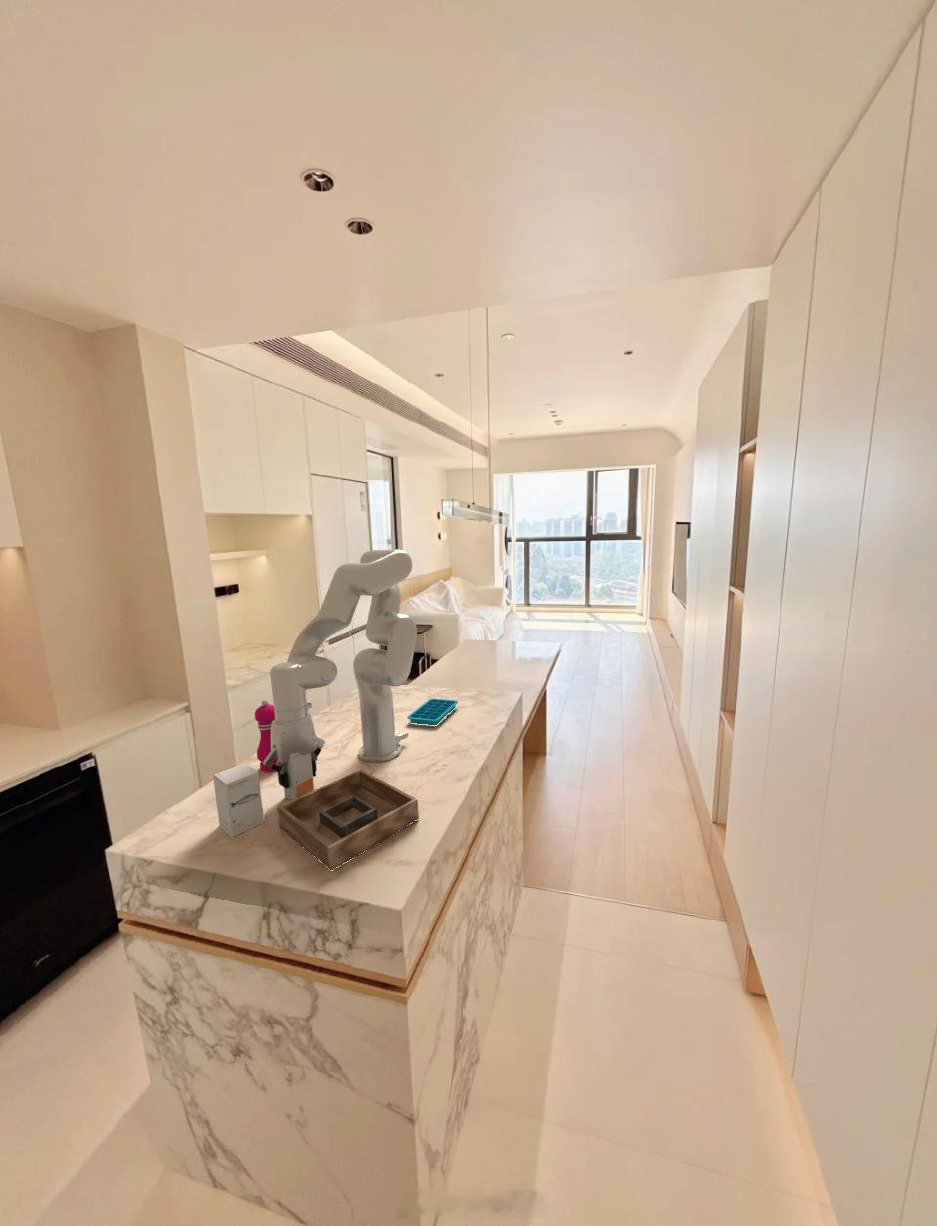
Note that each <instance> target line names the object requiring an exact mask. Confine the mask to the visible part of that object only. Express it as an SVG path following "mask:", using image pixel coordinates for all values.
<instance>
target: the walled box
mask: <svg viewBox="0 0 937 1226" xmlns="http://www.w3.org/2000/svg"><path fill="white" fill-rule="evenodd" d="M418 801H419V800H418V799H417V798H416V797H414V796H412V795H410V794H408V793H406V792H405V791H403V790H401V789H399V788H397V787H395V786H393V785H391V784H389V783H387V782H385V781H384V780H382V779H380V778H378V777H377V776H374V775H372V774H370V773H368V772H367V771H365V770H364V769H360V770H357V771H355V772H352V773H350V774H348V775H345V776H343V777H341V778H339V779H337V780H334V781H333V782H330V783H328V784H326V785H323V786H322V787H319V788H317V789H314V791H312V792H310V793H307V794H305V795H303V796H301V797H299V798H296V799H294V800H292V799H291V800H290V801H287V802H286V803H282V804H281V805H279V806H276V809H277V816H278V817H277V818H278V825H279V826H278V827H279V829H280V830H281V831H283V832H284V833H285V834H286V835H287V836H289V837H290V838H291V839H292V840H293V841H295V842H296V843H297V844H298V843H299V844H300V845H301V846H302V847H301V846H300V845H299V844H298V845H299V846H300V847H301V848H303V847H304V848H305V849H306V850H307V851H308V852H307V851H306V850H305V849H304V848H303V849H304V850H305V851H306V852H307V853H309V852H310V853H311V854H312V855H313V856H315V857H316V858H317V859H319V860H320V861H321V862H322V863H323V864H324V865H326V866H327V867H328V868H329V869H330V870H333V869H335V868H336V867H338V866H340V865H342V864H343V863H345V862H347V861H349V860H350V859H352V858H354V857H356V856H358V855H359V854H361V853H363V852H364V851H366V850H368V849H370V848H371V849H373V848H374V847H373V846H375V845H376V844H378V843H380V844H381V843H382V842H383V843H384V842H385V841H386V840H388V839H390V838H391V837H393V836H394V835H393V834H395V833H396V832H398V831H399V830H401V829H402V828H404V827H406V826H407V825H409V824H410V823H412V822H414V821H415V820H417V819H419V820H420V818H419V803H418ZM406 828H407V827H406ZM401 831H402V830H401ZM398 833H399V832H398ZM396 834H397V833H396ZM396 834H395V835H396ZM392 835H393V836H392ZM390 836H391V837H390ZM389 837H390V838H389ZM387 838H388V839H387ZM385 839H386V840H385ZM384 840H385V841H384ZM378 845H379V844H378ZM376 846H377V845H376ZM376 846H375V847H376ZM372 847H373V848H372ZM371 849H370V850H371ZM368 851H369V850H368ZM366 852H367V851H366ZM310 853H309V854H310ZM311 854H310V855H311ZM363 854H364V853H363ZM312 855H311V856H312ZM361 855H362V854H361ZM313 856H312V857H313ZM358 857H359V856H358ZM316 858H315V859H316ZM356 858H357V857H356ZM317 859H316V860H317ZM323 864H322V865H323ZM324 865H323V866H324ZM330 870H329V871H330Z"/></svg>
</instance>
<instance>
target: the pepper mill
mask: <svg viewBox="0 0 937 1226" xmlns="http://www.w3.org/2000/svg"><path fill="white" fill-rule="evenodd" d="M254 719H255V721H256V722H257V729H258V730H259V732H260V739H259V743H258V746H257V750H256V757H257V760H259V765H260V766H259V767H260V768H259V769H260V771H261V772H262V773H263V772H264V773H274V772H275V771H274V770H272V769H271V768H269V767H267V766H265V765H264V764H263V761H264V760H265V759H266V757H267V756H268V755H269V753H270V752H271V726H272V721H274V720H275V712H274V704H270V703H269V700H268V699H263V700H261V705H260V706H258V707H257V709H255V712H254ZM277 761H278V758H277V759H274V760H273V761H272V763H273V764H275V765H276V764H277Z"/></svg>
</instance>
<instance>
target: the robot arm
mask: <svg viewBox="0 0 937 1226" xmlns="http://www.w3.org/2000/svg"><path fill="white" fill-rule="evenodd" d="M412 570H413V561H412V557H411V555H409V553H408V552H406V551H405V550H401V549H373V550H369V551H366V552H364V553H363V554H362V555H361V557H360V560H359V563H358V562H357V563H356V562H355V563H354V562H353V563H351V562H350V563H343V564H341V565H340V566H338V567H337V569H336V570H335V571H334V574H333V577H332V579H331V581H330V584H329V586H328V588H327V592H326V594H325V596H324V599H323V602H322V604H321V607H320V609H319V611H318V613H317V615H316V616H315V617H314V618H312V619H311V621H310V622H308V624H306V626H305V627H304V628H303V629H302V630H301V632H300V633H299V634H298V636H296V639H295V640H294V641H293V642H294V643H293V644H292V647H291V650H290V653H289V654H288V658H287V661H286V662H281V663H277V664H275V665H273V666H272V667H271V668H270V671H269V672H270V673H269V676H270V682H271V683H270V684H271V693H272V701H273V706H274V712H275V720H274V721H272V726H271V752H270V753H269V755H268V756H267V757H266V759H265V760H264V761H263V764H264V765H265V766H267V767H269V768H271V769H272V770H274V771H273V772H276V773H277V778H278V784H279V785H280V786H281V787H283V789H284V788H286V789H287V788H288V787H289V783H288V774H287V773H286V772H285V770H286V767H287V763H288V762H289V761H290V755H293V754H296V753H299V754H301V755H302V756H303V755H306V754H309V753H311V760H312V771H313V778H315V777H316V776H317V773H316V772H317V769H318V768H317V761H318V757H319V756H320V754H321V752H322V749H323V747H324V746H325V744H326V741H325V740H324V739H322V738H321V737H319V736H316V730H315V726H314V722H313V719H312V716H311V714H310V713H309V710H310V709H311V708H312V707H313V705H312V703H311V702H307V694H306V691H307V690H311V689H317V688H318V689H319V688H323V687H326V686H329V685H330V684H331V683H333V682H334V681H335V679H336V678H337V675H338V667H337V665H336V663H335V662H334V661H333V660H331V659H330V658H328V657H323V656H319V655H317V653H318V651H319V650H320V649H319V648H320V647H321V646H322V645H323V643H324V642H325V641H326V640H327V639H328V638H329V637H330V636H332V635H334V634H336V633H338V632H340V631H343V630H344V629H346V628H348V627H349V626H351V622H352V619H353V618H354V615H355V612H356V610H357V606H358V604H359V601H360V599H361V596H371V601H370V606H369V612H368V614H367V615H368V616H367V621H366V626H365V637H366V638H367V640H368V641H369V642H371V643H373V644H377V645H381V646H387V650H386V649H380V648H372V647H371V648H365V649H362V650H360V651H358V653H357V654H356V655H355V657H354V659H353V663H352V665H353V666H352V669H353V675H354V678H355V681H356V684H357V690H358V698H359V699H358V700H359V709H360V710H359V711H360V723H361V724H360V725H361V734H362V746H361V747H360V748H359V749H358V755H357V756H358V758H359V759H361V760H363V761H364V762H369V763H381V762H386V761H389V760H392V759H394V758H396V757H398V756H399V755H400V754H401V752H402V745H401V744H400V742H401V741H402V740H404V739H407V738H409V732H408V731H404V732H401V733H400V732H399V731H396V728H395V727H396V726H395V714H394V713H395V712H394V698H393V690H392V688H391V687H400V686H402V685H404V683H405V682H406V681H407V679H408V677H409V676H410V673H411V670H412V669H411V668H412V664H413V660H414V653H415V649H416V645H417V644H416V643H417V637H418V629H417V624H416V622H415V620H414V619H413V618H412V617H411V616H410V615H408V614H405V613H400V608H401V601H402V594H401V589H400V587H399V583H401V582H403V581H404V580H406V579H407V578H408V577H409V576H410V574H411V572H412ZM399 753H400V754H399ZM397 755H398V756H397ZM277 758H278V761H277V764H276V765H275V764H273V763H272V761H273V760H274V759H277Z"/></svg>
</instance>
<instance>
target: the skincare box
mask: <svg viewBox="0 0 937 1226" xmlns="http://www.w3.org/2000/svg"><path fill="white" fill-rule="evenodd" d="M285 772H286V773H287V774H288V783H289V787H288V788H287V789H286V788H284V787H283V792H284V797H285V798H287V799H290V800H291V801H292V800H294V799H296V798H299V797H301V796H303V795H305V794H307V793H310V792H312V791H314V790H315V786H314V777H313V771H312V760H311V753H309V754H306V755H303V756H302V755H301V754H299V753H296V754H293V755H290V761H289V762H288V763H287V767H286V770H285Z"/></svg>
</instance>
